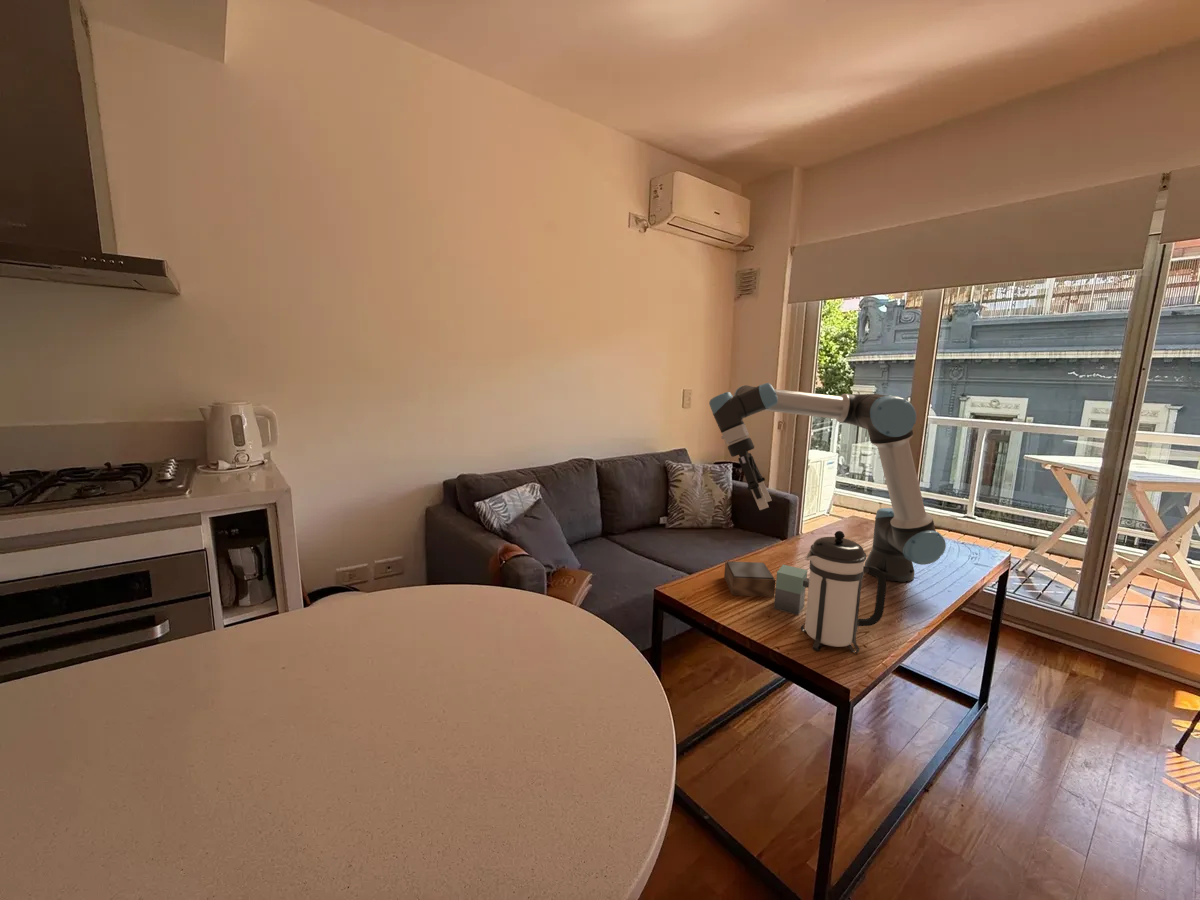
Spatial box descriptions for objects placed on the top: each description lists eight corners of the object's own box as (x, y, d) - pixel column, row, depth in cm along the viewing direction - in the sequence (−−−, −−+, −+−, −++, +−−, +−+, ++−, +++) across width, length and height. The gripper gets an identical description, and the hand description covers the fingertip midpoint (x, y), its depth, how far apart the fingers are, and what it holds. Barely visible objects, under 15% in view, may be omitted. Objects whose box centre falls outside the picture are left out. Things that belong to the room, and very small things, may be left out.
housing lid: (781, 579, 153) (783, 564, 152) (811, 587, 148) (813, 571, 147) (775, 588, 147) (776, 572, 146) (806, 596, 142) (808, 579, 141)
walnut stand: (763, 579, 168) (764, 562, 167) (774, 596, 156) (775, 578, 155) (724, 577, 169) (725, 560, 168) (731, 594, 156) (733, 576, 155)
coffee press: (845, 666, 120) (858, 547, 115) (786, 637, 132) (796, 528, 127) (880, 644, 130) (894, 533, 125) (822, 618, 143) (832, 517, 137)
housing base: (779, 599, 154) (781, 579, 153) (803, 606, 150) (805, 585, 149) (773, 608, 148) (775, 588, 147) (798, 615, 144) (800, 594, 143)
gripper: (732, 444, 168) (757, 503, 166) (720, 447, 145) (750, 516, 143) (753, 435, 166) (779, 495, 163) (745, 437, 142) (775, 507, 140)
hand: (766, 505), depth 153 cm, fingers open, 13 cm apart
